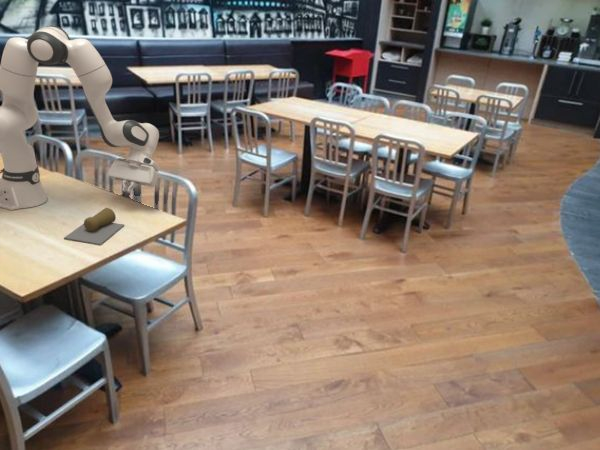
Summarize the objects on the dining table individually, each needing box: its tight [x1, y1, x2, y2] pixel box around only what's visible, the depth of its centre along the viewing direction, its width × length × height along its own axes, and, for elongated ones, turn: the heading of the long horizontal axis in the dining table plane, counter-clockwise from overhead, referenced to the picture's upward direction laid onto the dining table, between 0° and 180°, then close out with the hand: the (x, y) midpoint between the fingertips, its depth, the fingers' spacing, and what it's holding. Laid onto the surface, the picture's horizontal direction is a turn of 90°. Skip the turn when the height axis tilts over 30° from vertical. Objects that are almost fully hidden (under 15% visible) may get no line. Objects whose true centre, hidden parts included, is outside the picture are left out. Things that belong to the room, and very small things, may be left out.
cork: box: [83, 207, 116, 231], centre depth 170 cm, size 6×6×11 cm
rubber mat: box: [63, 222, 125, 246], centre depth 168 cm, size 14×16×1 cm
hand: (126, 191), depth 182 cm, fingers closed
